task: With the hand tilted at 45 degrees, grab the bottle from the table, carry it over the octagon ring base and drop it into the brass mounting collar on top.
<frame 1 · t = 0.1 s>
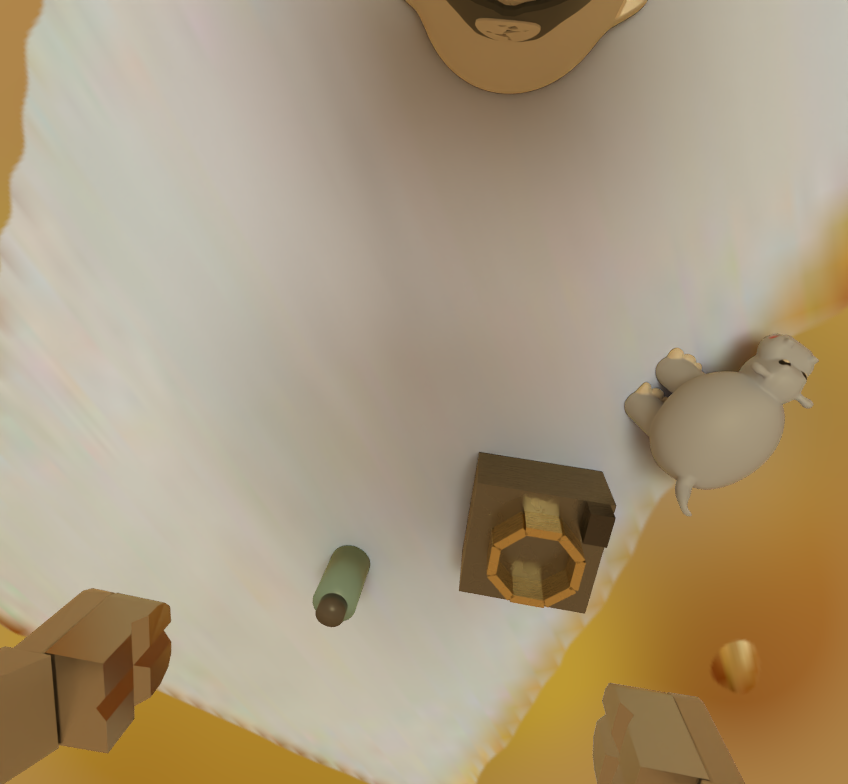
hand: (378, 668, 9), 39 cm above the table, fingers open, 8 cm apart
bottle: (350, 561, 57), on the table
octagon ring base: (528, 513, 52), on the table
hippopotamus toy: (703, 395, 46), on the table
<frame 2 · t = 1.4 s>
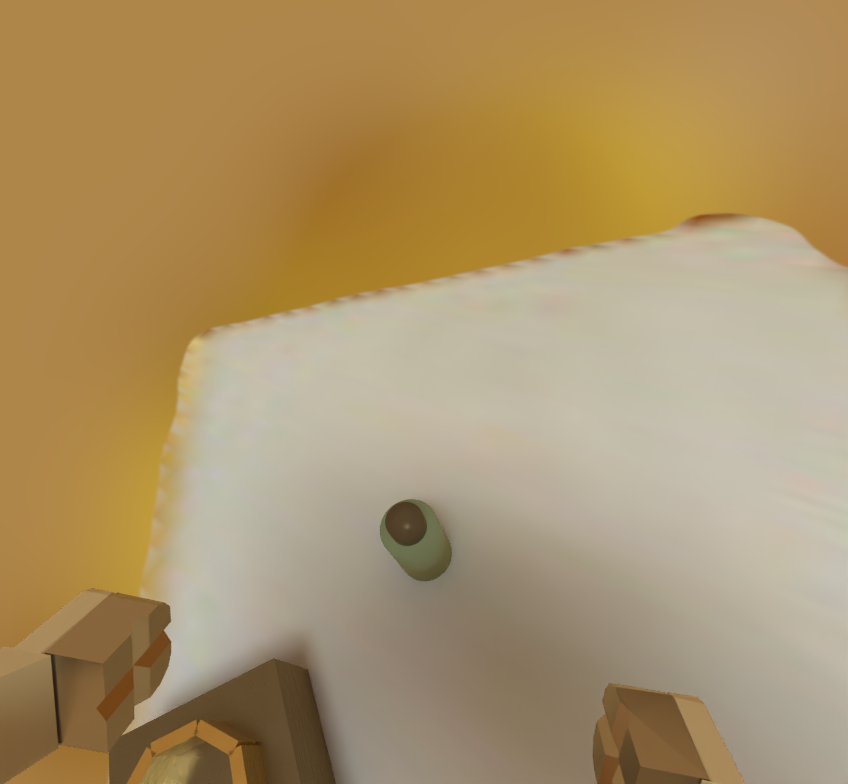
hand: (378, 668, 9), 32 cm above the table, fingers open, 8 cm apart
bottle: (425, 554, 43), on the table
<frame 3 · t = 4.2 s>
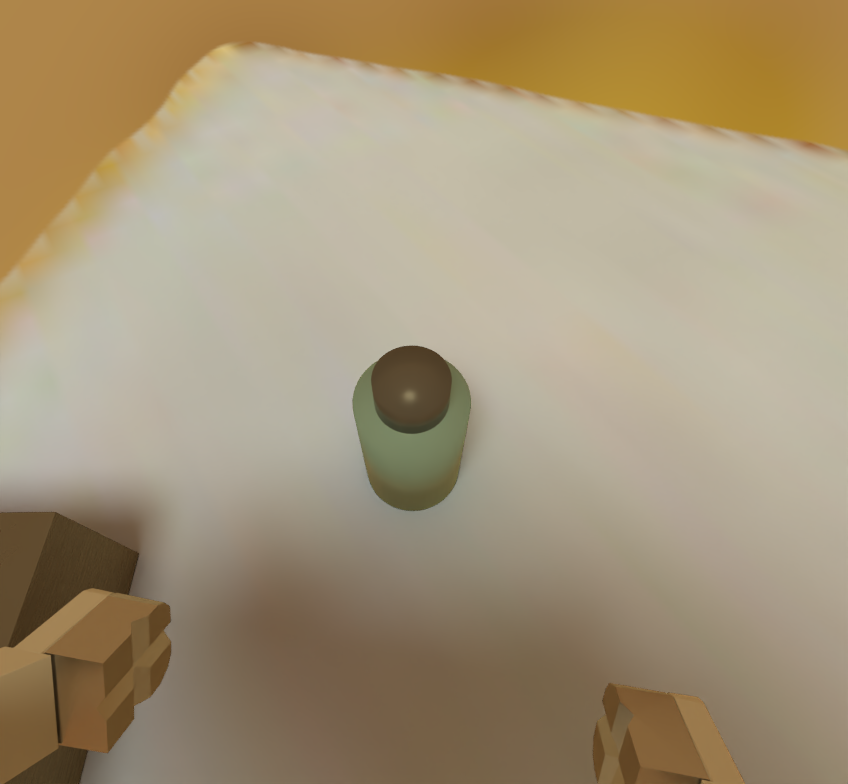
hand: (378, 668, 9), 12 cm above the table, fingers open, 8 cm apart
bottle: (412, 466, 25), on the table
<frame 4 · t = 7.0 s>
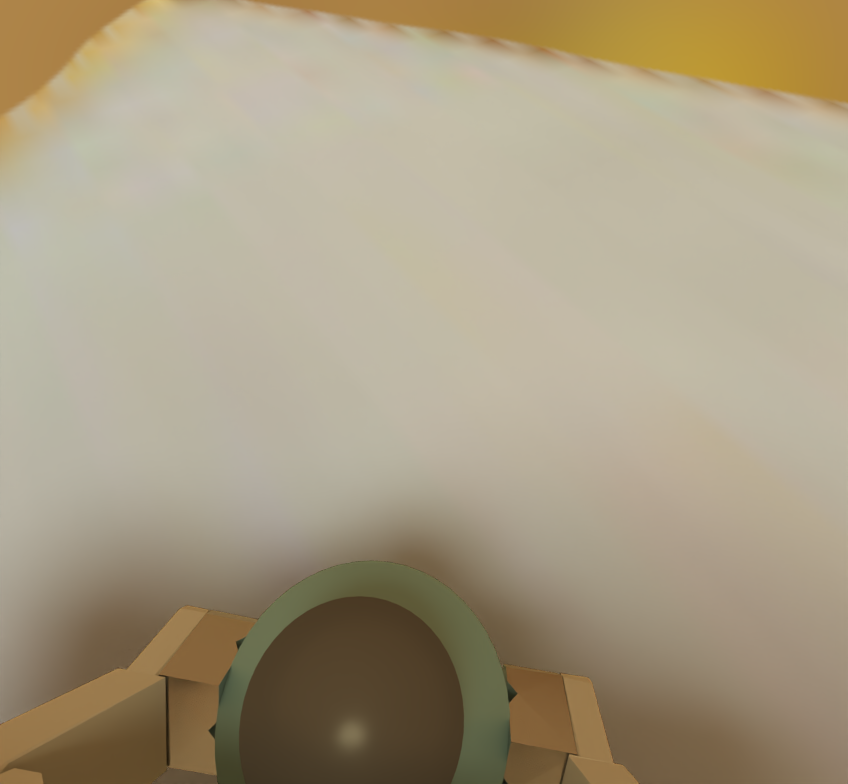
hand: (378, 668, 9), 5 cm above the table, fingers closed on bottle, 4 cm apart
bottle: (387, 702, 13), on the table, touching gripper
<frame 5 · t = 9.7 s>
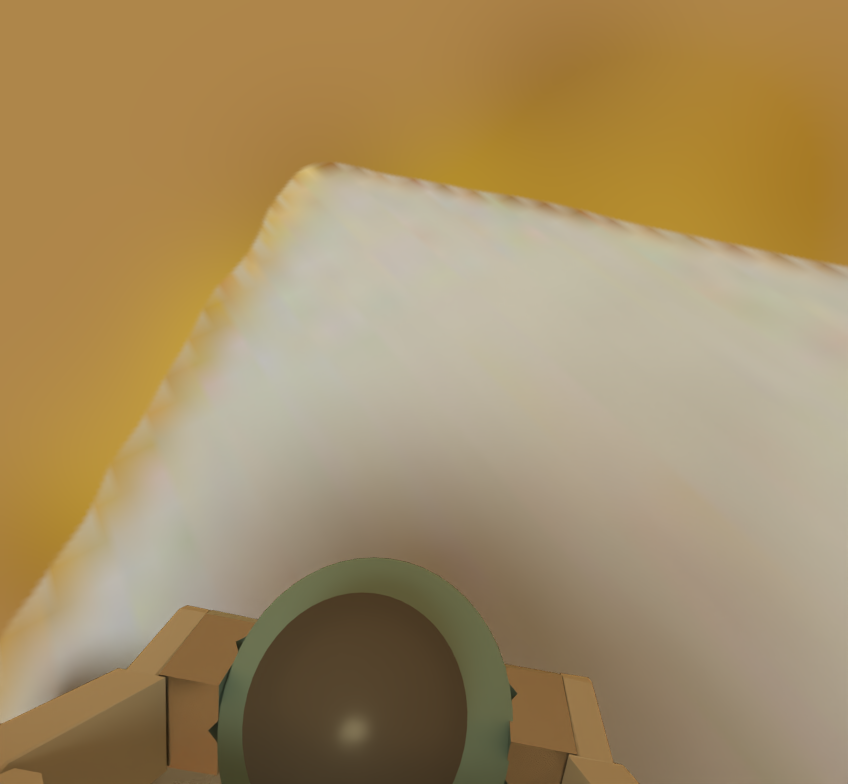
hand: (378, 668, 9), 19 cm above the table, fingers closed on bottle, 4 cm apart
bottle: (389, 700, 13), point 14 cm above the table, touching gripper
when the fingers open (12 cm above the table, at t = 12.6 s): bottle drops 1 cm, resting on octagon ring base.
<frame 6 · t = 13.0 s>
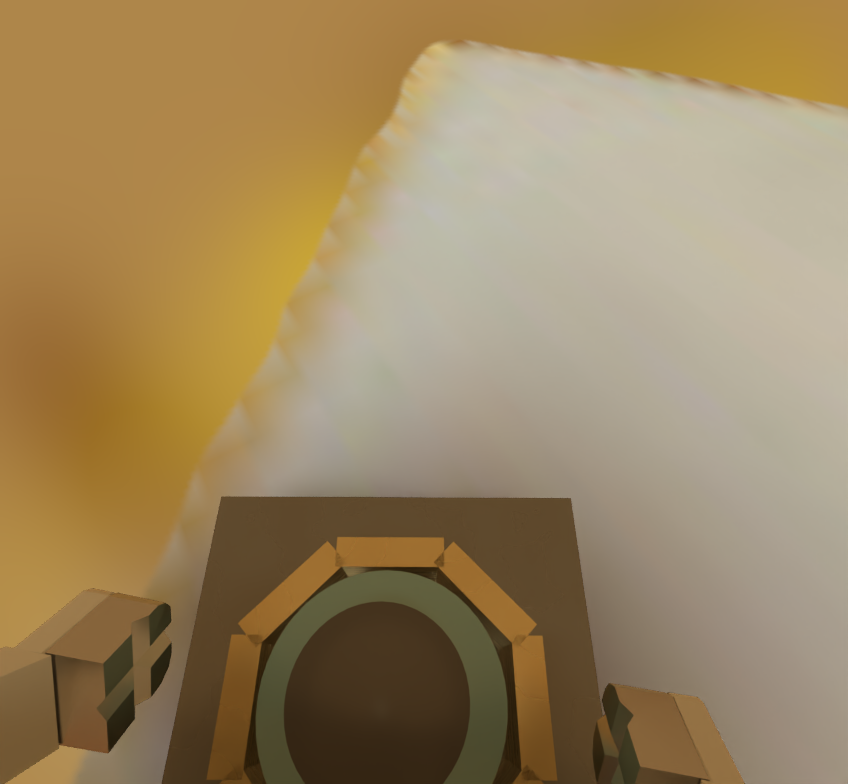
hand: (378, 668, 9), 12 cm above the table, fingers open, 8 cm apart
bottle: (394, 698, 15), point 6 cm above the table, touching octagon ring base
octagon ring base: (397, 698, 20), on the table
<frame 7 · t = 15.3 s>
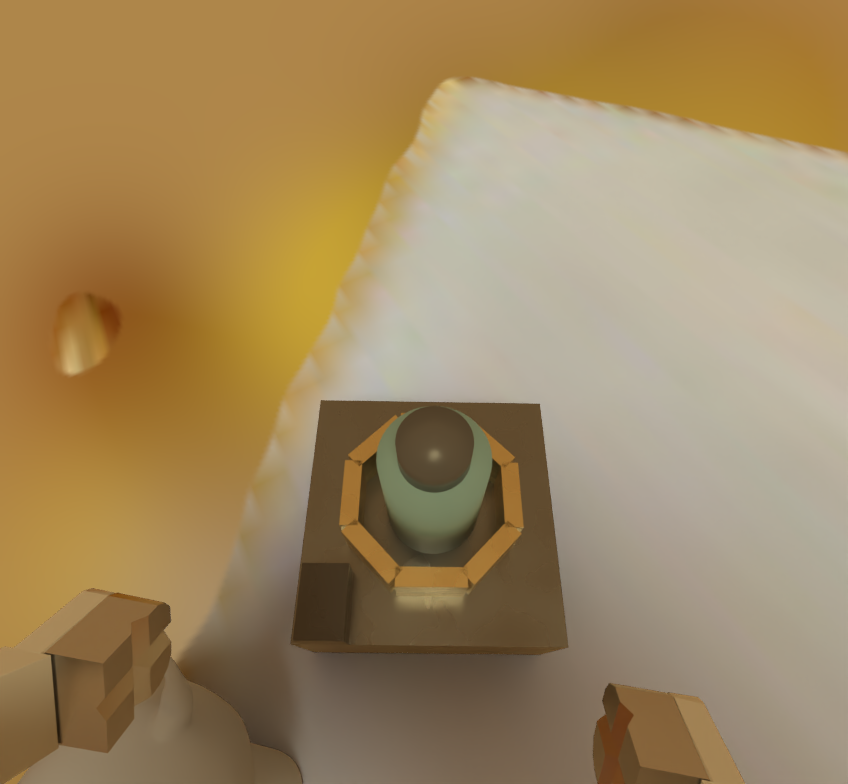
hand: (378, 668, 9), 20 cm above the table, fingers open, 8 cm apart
bottle: (432, 507, 25), point 6 cm above the table, touching octagon ring base
octagon ring base: (427, 539, 30), on the table
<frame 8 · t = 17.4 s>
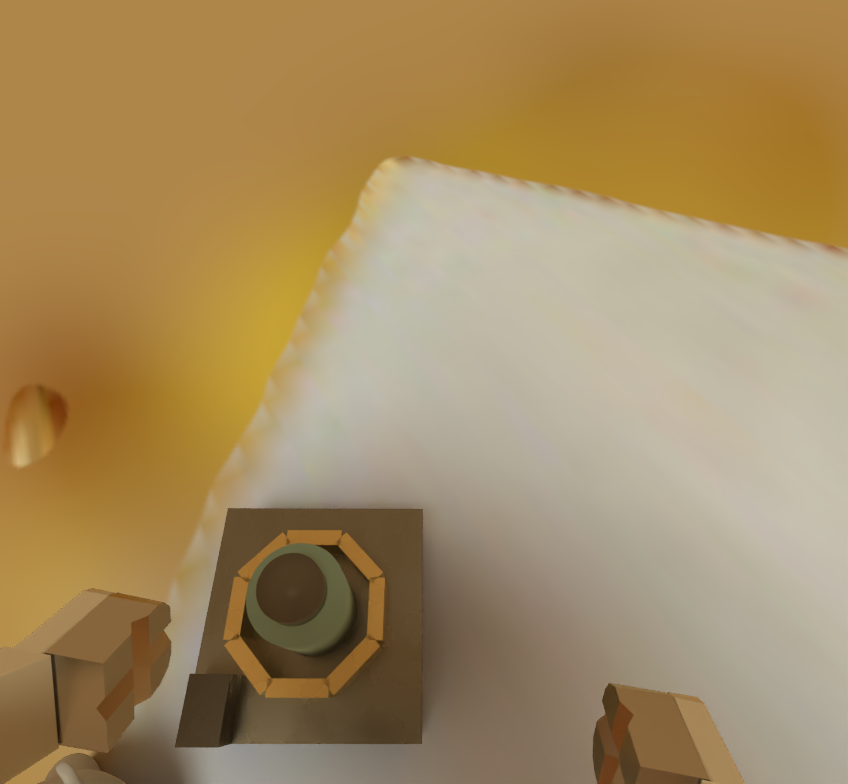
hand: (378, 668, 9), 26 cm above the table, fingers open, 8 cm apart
bottle: (317, 612, 29), point 6 cm above the table, touching octagon ring base
octagon ring base: (330, 625, 34), on the table
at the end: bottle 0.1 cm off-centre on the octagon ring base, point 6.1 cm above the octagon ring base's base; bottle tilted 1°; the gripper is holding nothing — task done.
